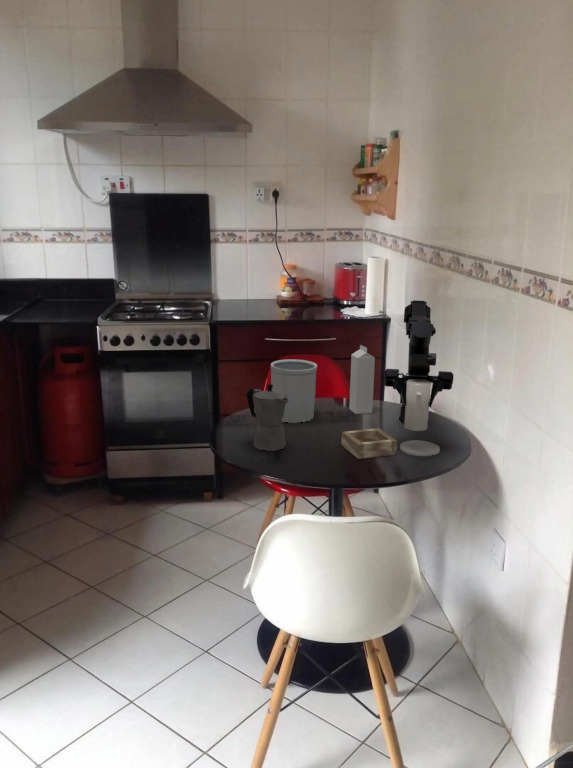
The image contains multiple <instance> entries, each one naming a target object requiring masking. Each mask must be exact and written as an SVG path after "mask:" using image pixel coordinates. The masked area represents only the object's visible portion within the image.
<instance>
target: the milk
mask: <svg viewBox="0 0 573 768" xmlns="http://www.w3.org/2000/svg"><path fill="white" fill-rule="evenodd" d="M350 356H351V358H350V384H349V386H350V387H349V406H348V407H349V408H348V409H349V410H350V411H351V412H353V413H354V414H355V415H361V414H373V408H374V407H373V405H374V404H373V403H374V402H373V401H374V383H375V367H376V366H375V365H376V364H375V363H376V361H375V360H376V358H375V356H373V355H371V354H370V353H368V347H366V346H365V345H363V344H360V345H359V349H358V350H356V351H354V352H353V353H351V355H350Z"/></svg>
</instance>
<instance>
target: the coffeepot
mask: <svg viewBox="0 0 573 768" xmlns="http://www.w3.org/2000/svg"><path fill="white" fill-rule="evenodd" d="M266 387H267V390H261V389H258V388H253V387H251V388H249V389H248V391H246V394H245V395H246V400H247V403H248V408H249V411H250V415H251V417H254V418H257V423H256V426H255V427H256V428H255V432H254V438H253V442H252V443H253V444H252V446H253V447H254V449H256V448H257V449H256V450H259V451H262V450H266V451H265V452H276V450H277V451H281V450H282V449H284V448H285V447H286V445H287V444H286V436H285V430H284V424H283V422H282V418H283V416H284V410H285V404H286V403H287V402H288V401H289V399H287V398H286V397H287V395H286V394H285V393H283V392H280V391H273V390H272V387H273V385H272V384H271V383H269V384H266ZM280 449H281V450H280Z"/></svg>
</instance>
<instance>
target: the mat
mask: <svg viewBox="0 0 573 768" xmlns="http://www.w3.org/2000/svg"><path fill="white" fill-rule="evenodd" d="M440 447H441V446H439V445H438V444H436V443H434V442H431V441H426V440H416V439H415V440H406V441H403V442H401V443H400V444H399V449H400V451H401V452H403V453H404V454H406V455H410V456H414V457H433V456H432V455H434V456H436V454H437V455H438V454H439V453H440V452H441V448H440Z"/></svg>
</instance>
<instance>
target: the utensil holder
mask: <svg viewBox="0 0 573 768" xmlns="http://www.w3.org/2000/svg"><path fill="white" fill-rule="evenodd" d="M270 370H271V371H270V373H271V374H270V375H271V376H270V377H271V378H270V384H272V385H273V387H272V390H273V391H280V392H283V393H285V394H286V395H287V397H286V398H287V399H289V401H288V402H287V403H286V404H285V410H284V416H283V418H282V423H285V422H288V423H287V424H301V423H300V422H303V423H307V422H306V421H308V422H311V421H312V420H313V419H314V415H315V413H314V412H315V401H316V400H315V399H316V382H317V381H316V380H317V370H318V364H317V363H316V362H313V361H310V360H305V359H294V358H293V359H280V360H279V359H278V360H275V361H273V362H271V363H270ZM311 419H312V420H311ZM297 422H298V423H297Z"/></svg>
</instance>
